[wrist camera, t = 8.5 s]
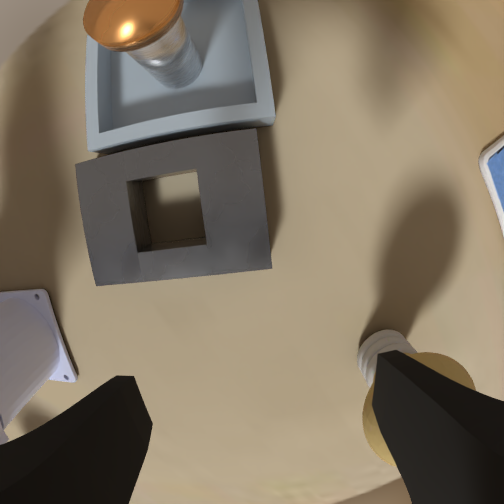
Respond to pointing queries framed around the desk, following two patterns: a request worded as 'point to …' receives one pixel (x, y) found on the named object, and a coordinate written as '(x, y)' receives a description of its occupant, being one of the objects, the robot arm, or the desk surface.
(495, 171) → the tablet computer
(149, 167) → the block
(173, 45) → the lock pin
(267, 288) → the desk surface
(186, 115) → the tray
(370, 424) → the light bulb
